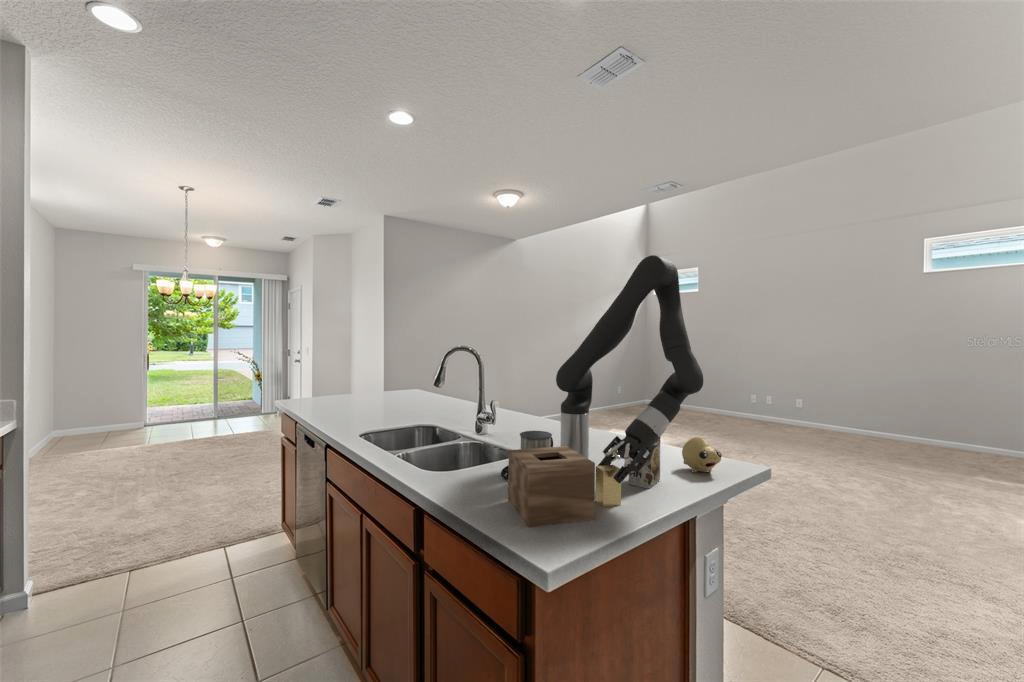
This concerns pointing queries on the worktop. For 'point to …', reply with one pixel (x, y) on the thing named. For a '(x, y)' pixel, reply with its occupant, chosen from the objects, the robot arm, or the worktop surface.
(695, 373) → the robot arm
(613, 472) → the yellow rectangular block
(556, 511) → the coin box
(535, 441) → the milk frother
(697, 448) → the yellow creature figurine
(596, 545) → the worktop surface
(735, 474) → the worktop surface
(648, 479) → the coffee box
